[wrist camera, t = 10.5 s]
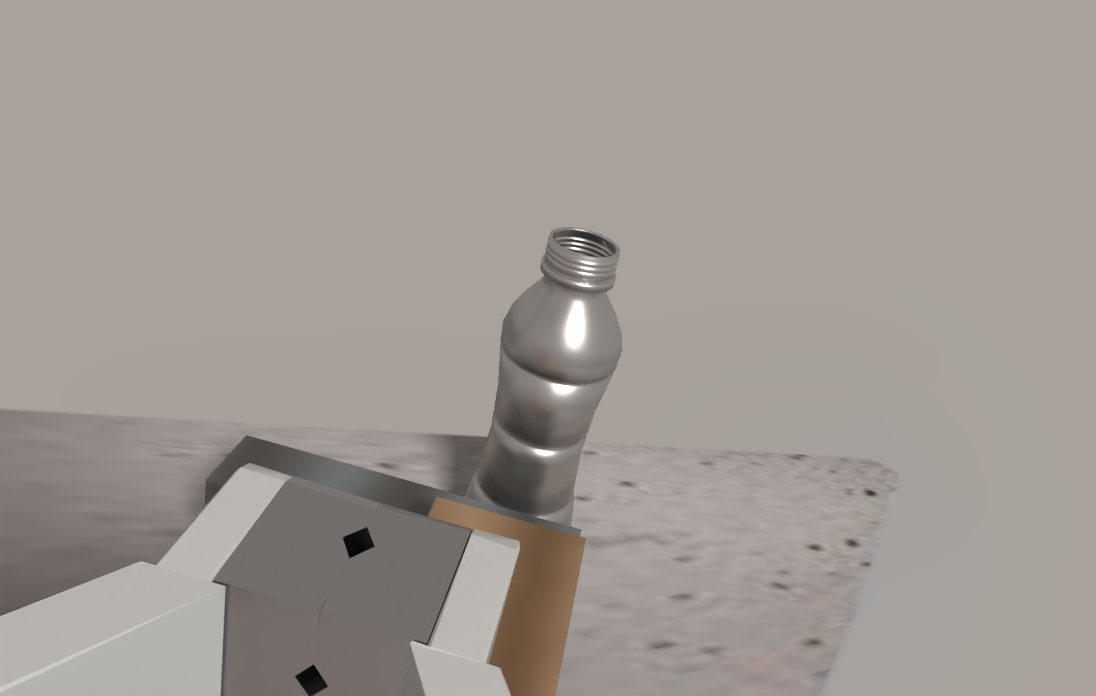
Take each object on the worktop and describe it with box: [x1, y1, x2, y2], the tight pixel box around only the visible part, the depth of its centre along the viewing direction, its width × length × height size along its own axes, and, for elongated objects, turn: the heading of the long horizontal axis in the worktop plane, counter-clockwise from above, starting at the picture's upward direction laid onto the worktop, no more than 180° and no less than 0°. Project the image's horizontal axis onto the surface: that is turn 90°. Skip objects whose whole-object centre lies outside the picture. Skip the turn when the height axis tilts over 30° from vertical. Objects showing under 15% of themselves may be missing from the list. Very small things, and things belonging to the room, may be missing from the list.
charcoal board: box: [205, 435, 581, 537], centre depth 43 cm, size 18×4×7 cm, turn 80°
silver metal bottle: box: [464, 227, 622, 527], centre depth 46 cm, size 6×7×20 cm
